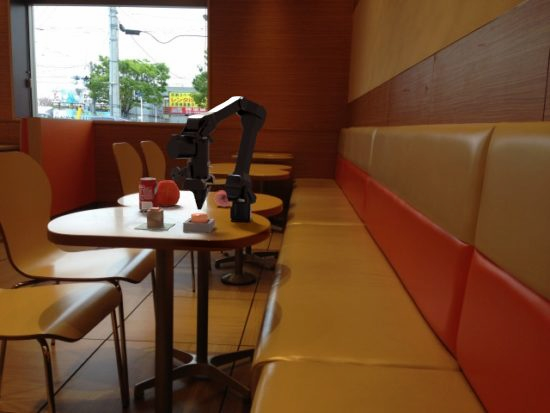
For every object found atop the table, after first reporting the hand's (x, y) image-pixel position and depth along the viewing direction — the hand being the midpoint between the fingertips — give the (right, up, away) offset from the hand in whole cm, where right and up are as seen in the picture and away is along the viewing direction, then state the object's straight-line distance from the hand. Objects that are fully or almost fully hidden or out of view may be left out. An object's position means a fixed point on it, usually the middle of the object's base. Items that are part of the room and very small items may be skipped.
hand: (199, 209), depth 138 cm
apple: (-20, +1, +42) cm, 47 cm away
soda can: (-24, -1, +30) cm, 38 cm away
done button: (0, -4, +1) cm, 4 cm away
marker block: (-14, -5, +3) cm, 15 cm away
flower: (+2, +1, +45) cm, 45 cm away
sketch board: (-14, -5, +3) cm, 15 cm away
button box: (0, -6, +1) cm, 6 cm away
